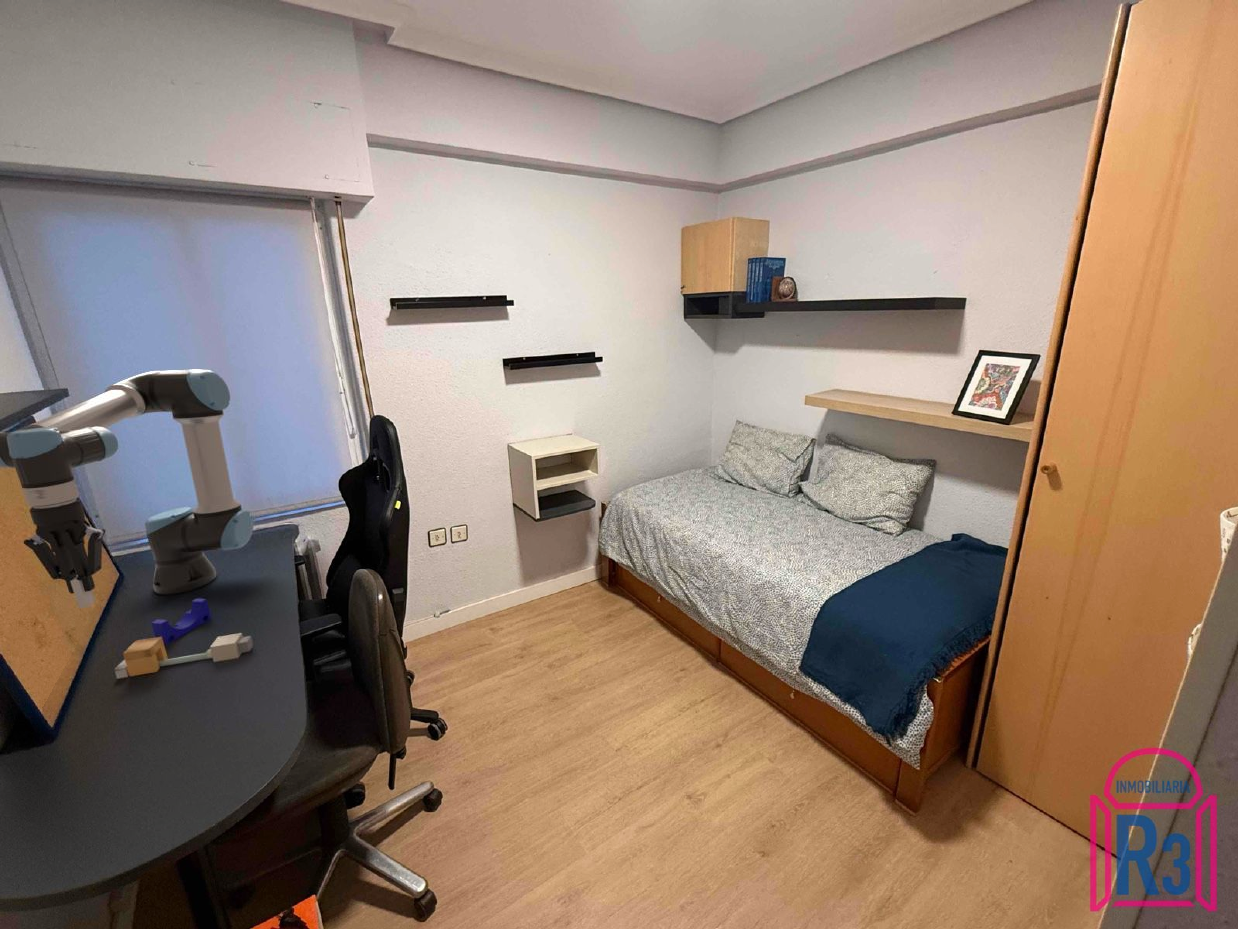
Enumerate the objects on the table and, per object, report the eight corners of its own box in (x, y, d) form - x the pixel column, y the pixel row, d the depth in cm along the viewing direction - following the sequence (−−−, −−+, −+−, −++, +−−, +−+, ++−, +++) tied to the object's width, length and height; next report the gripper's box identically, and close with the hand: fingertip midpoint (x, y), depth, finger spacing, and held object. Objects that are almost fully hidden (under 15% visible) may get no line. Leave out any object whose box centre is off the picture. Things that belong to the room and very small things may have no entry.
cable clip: (197, 617, 144) (192, 597, 143) (211, 618, 143) (206, 599, 142) (152, 643, 133) (146, 622, 131) (167, 644, 132) (161, 623, 130)
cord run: (116, 678, 119) (111, 663, 118) (128, 666, 123) (123, 651, 122) (248, 656, 126) (244, 641, 125) (255, 645, 130) (251, 631, 129)
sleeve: (130, 676, 119) (122, 653, 118) (142, 662, 124) (135, 640, 123) (156, 671, 121) (149, 649, 119) (167, 658, 126) (161, 636, 124)
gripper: (0, 512, 104) (37, 618, 111) (81, 504, 108) (113, 608, 114) (28, 501, 111) (62, 601, 117) (104, 494, 115) (132, 592, 121)
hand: (87, 604), depth 116 cm, fingers closed
